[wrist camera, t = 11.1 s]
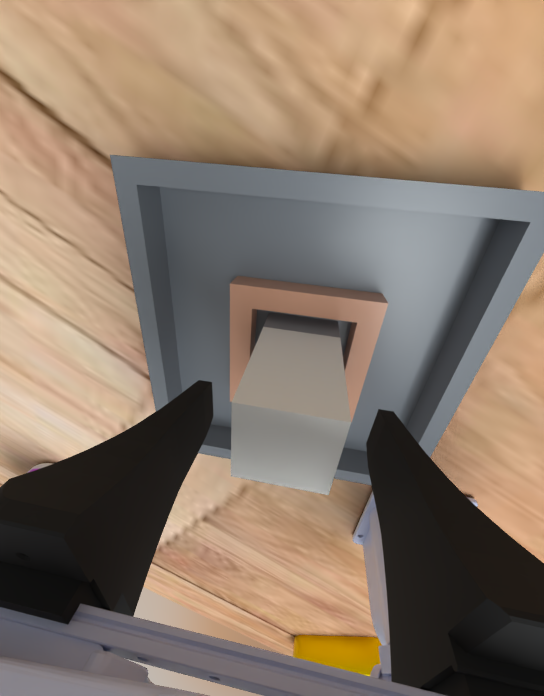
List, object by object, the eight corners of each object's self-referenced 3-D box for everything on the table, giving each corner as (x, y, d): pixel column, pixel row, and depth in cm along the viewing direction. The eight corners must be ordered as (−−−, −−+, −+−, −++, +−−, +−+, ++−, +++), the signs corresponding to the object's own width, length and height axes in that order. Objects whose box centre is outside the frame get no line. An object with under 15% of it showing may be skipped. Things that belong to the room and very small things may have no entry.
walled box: (399, 456, 22) (410, 492, 19) (179, 418, 23) (162, 446, 21) (523, 193, 13) (575, 194, 10) (148, 161, 14) (110, 155, 12)
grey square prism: (325, 377, 18) (328, 495, 11) (264, 368, 18) (230, 476, 11) (338, 321, 16) (351, 422, 9) (269, 312, 16) (231, 402, 9)
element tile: (325, 665, 50) (325, 707, 46) (290, 630, 45) (286, 675, 41) (412, 671, 45) (421, 719, 41) (384, 633, 40) (391, 684, 35)
